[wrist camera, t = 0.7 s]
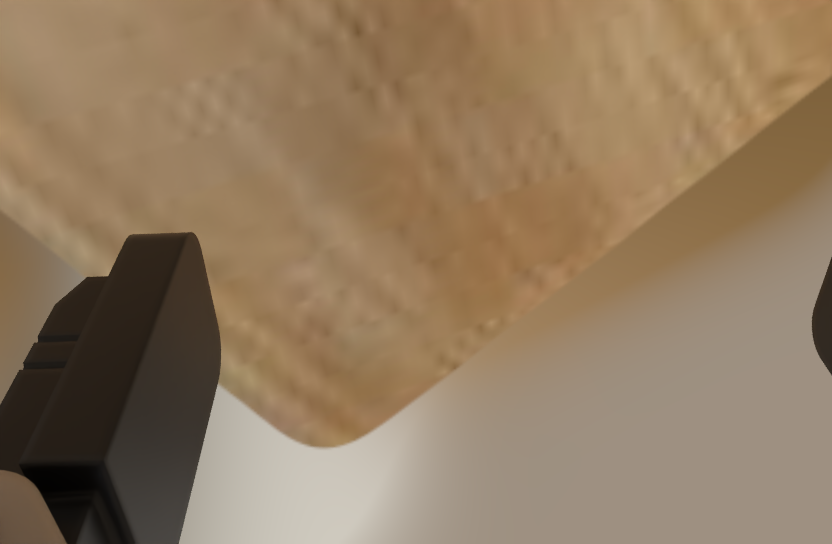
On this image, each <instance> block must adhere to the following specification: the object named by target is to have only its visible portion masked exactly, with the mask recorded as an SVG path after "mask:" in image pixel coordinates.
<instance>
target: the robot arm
mask: <svg viewBox="0 0 832 544" xmlns="http://www.w3.org/2000/svg"><path fill="white" fill-rule="evenodd" d="M812 332H813V339H814V344H815V347H816V350H817V352H818V354H819V356H820V358H821V360H822V361H823V363H824V364H825V365H826V367H827V369H828V370H829V372H830V373H831V375H832V258H831V261H830V264H829V267H828V269H827V272H826V275H825V278H824V281H823V284H822V287H821V289H820V292H819V295H818V298H817V301H816V304H815V307H814V310H813V316H812ZM23 364H24V368H23V370H19V372H18V373H17V375H16V377H15V379H14V381H13V383H12V385H11V386H10V388H9V390H8V392H7V394H6V396H5V397H4V399H3V401H2V403H1V405H0V544H179V540H180V536H181V531H182V528H183V524H184V519H185V515H186V511H187V507H188V503H189V499H190V495H191V491H192V487H193V483H194V479H195V474H196V470H197V466H198V462H199V458H200V454H201V450H202V446H203V441H204V438H205V433H206V429H207V425H208V421H209V417H210V413H211V408H212V405H213V400H214V397H215V392H216V388H217V384H218V380H219V375H220V366H221V342H220V333H219V328H218V323H217V318H216V314H215V309H214V305H213V300H212V296H211V291H210V287H209V282H208V278H207V273H206V269H205V264H204V260H203V255H202V251H201V247H200V244H199V241H198V239H197V237H196V235H195V234H194V233H192V232H188V233H161V234H133V235H130V236H129V237H128V238H127V239H126V241H125V242H124V244H123V247H122V249H121V251H120V253H119V255H118V257H117V259H116V261H115V263H114V265H113V267H112V270H111V272H110V274H109V276H104V277H87V278H86V279H84V280H83V281H82V282H81V283H80V284H79V285H78V286H76V287H75V288H74V289H73V290H72V291H70V292H69V293H68V294H67V295H66V296H65V297H63V298H62V299H61V300H60V301H59V302H58V303H56V304H55V306H54V308H53V310H52V311H51V313H50V315H49V317H48V318H47V320H46V322H45V324H44V326H43V328H42V330H41V331H40V333H39V335H38V343H34V344H33V346H32V348H31V350H30V352H29V353H28V355H27V357H26V359H25V361H24V362H23Z"/></svg>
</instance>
